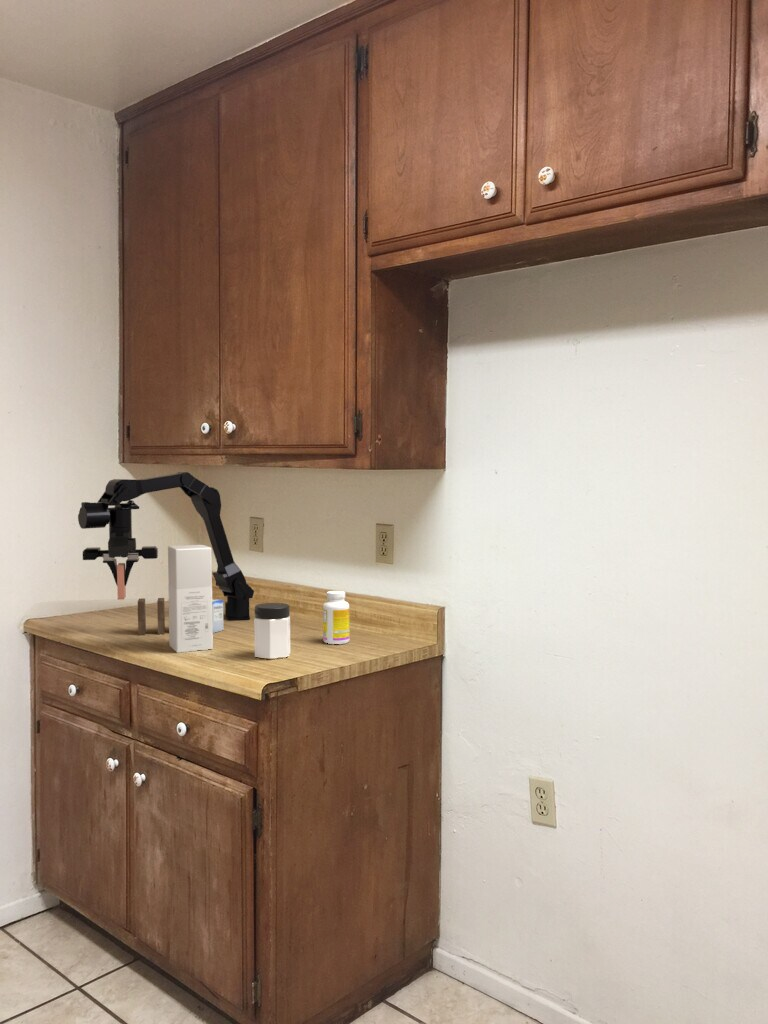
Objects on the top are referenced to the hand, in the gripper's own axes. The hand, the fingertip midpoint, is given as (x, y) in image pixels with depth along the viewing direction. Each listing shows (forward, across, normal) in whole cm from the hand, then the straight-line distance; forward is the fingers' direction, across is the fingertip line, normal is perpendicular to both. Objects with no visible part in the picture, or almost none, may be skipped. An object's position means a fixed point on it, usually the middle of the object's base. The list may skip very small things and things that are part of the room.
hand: (121, 585), depth 232 cm
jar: (+13, +37, -34) cm, 52 cm away
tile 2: (+13, +10, 0) cm, 16 cm away
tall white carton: (+13, +18, -21) cm, 31 cm away
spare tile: (+3, 0, 0) cm, 3 cm away
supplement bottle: (+13, +54, -22) cm, 60 cm away
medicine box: (+13, +22, 0) cm, 26 cm away
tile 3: (+13, +5, 0) cm, 14 cm away
